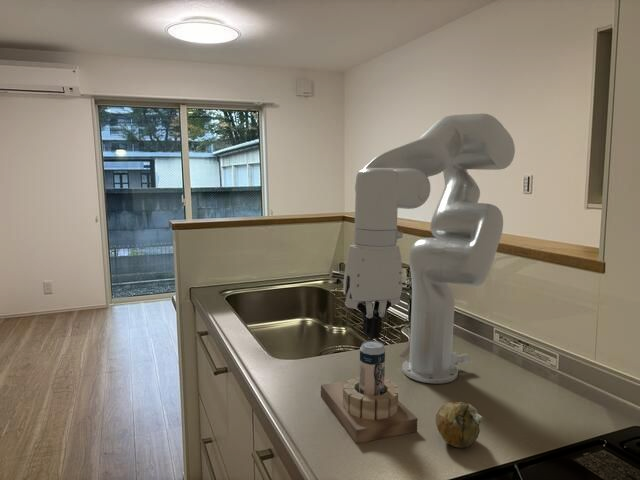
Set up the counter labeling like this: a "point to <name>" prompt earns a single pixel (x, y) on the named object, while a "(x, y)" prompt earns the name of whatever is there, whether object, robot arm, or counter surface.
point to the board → (367, 425)
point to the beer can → (372, 368)
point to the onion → (458, 423)
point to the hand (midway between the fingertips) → (371, 336)
